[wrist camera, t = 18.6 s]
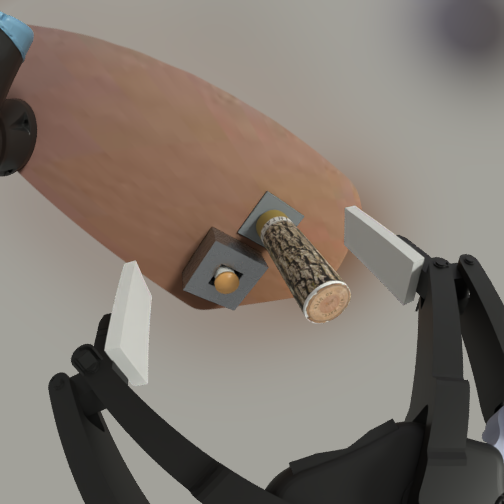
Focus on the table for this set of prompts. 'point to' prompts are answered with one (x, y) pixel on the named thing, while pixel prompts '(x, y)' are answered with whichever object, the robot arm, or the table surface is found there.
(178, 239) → the table surface
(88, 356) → the robot arm
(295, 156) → the table surface
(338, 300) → the paper tube
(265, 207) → the mat
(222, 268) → the plunger
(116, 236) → the table surface
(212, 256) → the block
